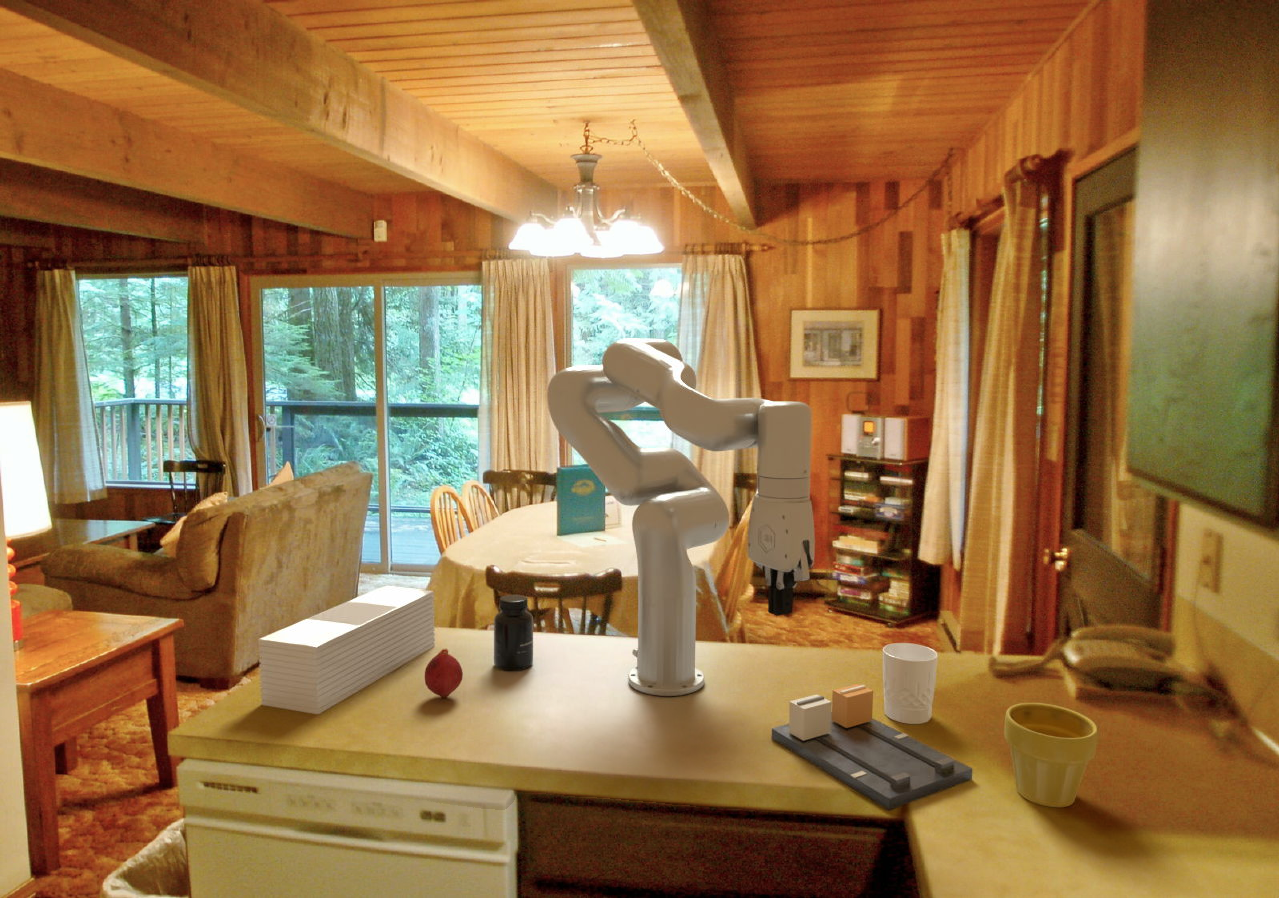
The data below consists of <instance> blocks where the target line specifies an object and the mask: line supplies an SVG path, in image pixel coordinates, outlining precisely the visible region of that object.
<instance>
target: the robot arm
mask: <svg viewBox="0 0 1279 898" xmlns="http://www.w3.org/2000/svg"><path fill="white" fill-rule="evenodd" d="M696 375H697V374H696V373H695V370H694V369H693V367H691V365H689V364H688V363H686V362H684V361H683V357H682V354H681V352H680V350H679V349H678V348H677V346H675V344H673V343H672V342H670V341H668V340H665V339H663V338H662V339H661V338H660V339H659V338H631V337H629V338H623V339H619V340H616V341H614V342H613V343H611V344H610V345H609V346H608V347H607V348H606V349H605V351H604V353H603V355H602V359H601V364H600V365H599V364H596V365H593V364H591V365H590V364H589V365H588V364H587V365H586V364H585V365H574V366H569V367H565V368H563V369H561V370H560V371H558V372H557V373H555V374H554V375H553V376H552V377H551V379H550V381H549V383H548V387H547V392H546V395H547V396H546V399H547V408H548V411H549V415H550V419H551V420H552V422H553V425H554V426H555V428H556V430H557V432H558V433H559V434H560V435H561V436H562V438H563V439H564V440H565V441H566V443H568V444H569V446H571V447H572V448H573V449H574V450H575V451H576V452H577V453H578V455H580V456H581V458H582V459H583V460H584V461H585V462H586V464H587V466H588V467H589V468H590V469H591V471H592V472H593V473H594V474H595V476H596V477H597V478H598V480H599V481H600V482H601V483H602V484H603V486H604V487H605V489H606V490H607V491H608V492H609V494H611V495H612V497H613V498H614V499H615V500H616V501H617V502H618V503H620V504H621V505H622V506H623V505H625V506H637V507H636V508H635V511H634V512H633V516H632V520H631V521H632V522H631V525H632V536H633V540H634V545H635V551H636V559H637V576H638V577H637V591H638V593H637V595H638V596H637V599H638V601H637V603H638V605H637V606H638V608H637V609H638V610H637V647H636V648H634V649H632V653H631V654H632V655H633V656H634V657H636V660H637V662H636V663H637V664H636V667H633V669H631V670H630V672H628V676H627V677H628V684H629V686H631V687H632V688H633V689H635V690H636V691H638V692H641V693H644V694H647V695H652V696H659V697H662V696H663V697H675V696H684V695H689V694H691V693H695V692H696V691H698V690H700V689H701V688H702V687H703V686H704V684H705V674H704V673H703V672H702V671H701V670H700V669H699V668H698V667H696V628H697V627H696V626H697V625H696V623H697V620H696V619H697V618H696V617H697V613H696V612H697V577H696V573H695V569H694V567H693V564H692V561H691V560H690V558H689V555H688V551H687V550H689V549H690V550H691V549H693V548H696V547H700V546H705V545H709V544H712V543H715V542H716V541H718V540H720V539H722V538H723V537H724V536H725V534H726V533H727V531H728V528H729V526H730V514H729V513H730V512H729V508H728V506H727V503H726V502H725V500H724V498H723V497H722V495H721V494H720V492H719V491H718V490H717V489H716V488H715V487H714V486H713V484H711V482H710V481H709V480H708V479H707V478H706V477H705V475H704V474H703V473H702V472H701V471H700V470H699V469H698V468H697V466H696V465H694V463H693V461H691V459H690V458H688V457H687V456H686V455H685V453H682V452H680V451H679V450H677V449H675V448H673V447H667V446H666V447H665V446H659V447H658V446H657V447H649V448H646V447H641V446H639V445H638V444H635V443H634V442H633V440H631V438H630V437H629V436H628V435H627V434H626V433H625V431H624V430H623V429H622V428H621V427H620V426H619V425H617V424H616V423H615V422H614V421H612V420H610V419H609V418H607V417H605V416H603V415H602V414H601V413H615V412H625V411H629V410H631V409H634V408H636V407H638V406H640V405H642V404H644V403H647V404H649V405H650V406H652V407H654V408H655V409H657V410H659V415H660V416H661V419H662V421H663V422H664V424H665V425H666V427H667V428H668V429H669V430H670V431H671V432H672V433H673V434H675V435H677V436H679V437H680V438H682V439H683V440H685V441H686V442H689V443H691V444H692V445H694V446H696V447H698V448H699V449H704V450H706V451H709V452H725V451H735V450H745V449H746V450H747V449H753V448H757V452H756V453H757V458H756V464H757V465H756V493H755V494H754V495H753V499H752V501H751V507H750V513H749V521H748V530H747V545H746V546H747V548H746V550H747V551H746V552H747V558H748V559H749V560H750V561H752V562H753V563H755V566H757V567H758V568H759V569H761V570H762V571H763V574H764V576H765V577H764V578H765V583H766V586H768V597H767V598H768V604H767V606H768V607H767V611H768V613H769V614H771V615H774V616H776V617H779V616H785V615H790V614H792V613H793V605H794V588H796V587H797V585H798V584H797V583H798V582H803V581H809V580H810V570H809V569H811V568H812V567H813V565H814V563H815V562H814V561H815V545H816V540H815V524H814V523H815V521H814V513H813V506H812V504H813V503H812V500H810V499H811V497H810V494H811V463H812V461H811V460H812V459H811V458H812V457H811V456H812V427H813V426H812V425H813V418H812V417H813V416H812V415H813V414H812V413H813V412H812V408H811V407H810V406H809V405H808V404H807V403H805V402H802V401H789V400H788V401H786V400H784V401H780V400H779V401H777V400H775V401H773V400H768V399H766V398H759V397H735V398H734V397H732V398H720V399H719V398H718V399H717V398H714V397H713V398H712V397H710V396H707V395H706V394H703V393H701V392H699V391H697V390H696V387H697V376H696Z"/></svg>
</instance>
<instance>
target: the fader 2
mask: <svg viewBox="0 0 1279 898" xmlns="http://www.w3.org/2000/svg"><path fill="white" fill-rule="evenodd" d="M831 698H832V699H831V702H832V703H831V712H832V721H834V722H836V723H838V724H840V725H842V726H843V727H845V728H848V727H852V726H855V725H859V724H862V723H866V722H869V721H872V718H873V709H874V708H873V704H874V690H873V689H871V688H868V687H867V686H866V685H865V684H861V683H860V684H859V683H856V684H851V685H848V686H843V687H839V688H836V689H832V695H831Z"/></svg>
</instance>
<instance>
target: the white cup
mask: <svg viewBox="0 0 1279 898" xmlns="http://www.w3.org/2000/svg"><path fill="white" fill-rule="evenodd" d="M938 655H939V654H938V652H937V651H936V650H934V649H933V648H930V647H928V646H926V645H921V644H917V643H909V642H896V643H889V644H886V645H885V646H884V647H882V683H883V684H882V685H883V686H882V687H883V688H882V689H883V698H884V701H883V702H884V705H883V706H884V708H883V709H884V713H885V714H884V715H885V716H887V717H888V718H889V719H890V720H892V721H895V722H897V723H903V724H906V725H922V724H926V723H928V722H929V721H930V720H931V718H932V712H933V711H932V710H933V701H934V698H935V697H934V696H935V689H936V679H937V678H936V677H937V668H938V666H937V665H938V658H939V657H938Z"/></svg>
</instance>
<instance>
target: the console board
mask: <svg viewBox="0 0 1279 898" xmlns="http://www.w3.org/2000/svg"><path fill="white" fill-rule="evenodd" d="M771 739H772V740H773V741H774V742H777V743H779V745H781V746H783V747H785V746H786V747H787V748H786V747H785V748H786V749H788V748H789V749H788V750H790V751H791V750H792V751H791V752H792V753H794V752H795V754H796V755H798V754H799V755H800V756H799V755H798V756H799V757H801V756H802V757H801V758H803V759H804V758H806V759H807V760H808V761H807V760H806V759H805V760H806V761H807V762H809V761H810V762H809V763H811V762H812V763H813V764H812V763H811V764H812V765H814V764H815V765H814V766H815V767H817V766H818V767H817V768H819V767H820V768H821V769H820V768H819V769H820V770H822V769H823V770H822V771H824V772H825V773H827V774H829V775H830V776H832V777H834V778H835V779H837V780H838V781H840V782H842V783H844V784H845V785H847V786H849V787H850V788H852V789H853V790H855V791H856V792H858V793H859V794H862V795H863V796H864V797H865V798H867V799H869V800H871V801H872V802H874V803H875V804H877V805H879V806H880V807H883V808H884V809H886V810H887V811H890V810H894V809H896V808H899V807H901V806H904V805H907V804H909V803H912V802H915V801H917V800H920V799H923V798H927V797H929V796H931V795H934V794H937V793H940V792H942V791H945V790H948V789H951V788H952V787H955V786H958V785H961V784H964V783H966V782H969V781H971V780H973V767H970V766H969V765H967V764H965V763H963V762H961V761H959V760H956V759H954V758H953V757H952V756H951V757H950V756H948V755H947V754H944V753H942V752H940V751H938V750H937V749H935V748H934V747H931V746H929V745H927V744H924V743H922V742H920V740H919V741H918V740H917V739H914V738H913V737H911V736H909V735H908V734H906V733H904V732H900V731H898V730H897V729H895V728H892V727H890V726H889V725H886V724H885V723H882V722H881V721H880V720H877V719H875V718H873V717H872V721H869V722H866V723H862V724H859V725H855V726H852V727H848V728H845V727H843V726H842V725H840V724H838V723H836V722H834V721H832V711H831V733H828V734H824V735H821V736H818V737H814V738H811V739H807V740H804V741H803V740H801V739H799V738H798V737H796V736H794V735H793V734H791V733H789V723H786V724H783V725H779V726H775V727H772V728H771Z"/></svg>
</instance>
